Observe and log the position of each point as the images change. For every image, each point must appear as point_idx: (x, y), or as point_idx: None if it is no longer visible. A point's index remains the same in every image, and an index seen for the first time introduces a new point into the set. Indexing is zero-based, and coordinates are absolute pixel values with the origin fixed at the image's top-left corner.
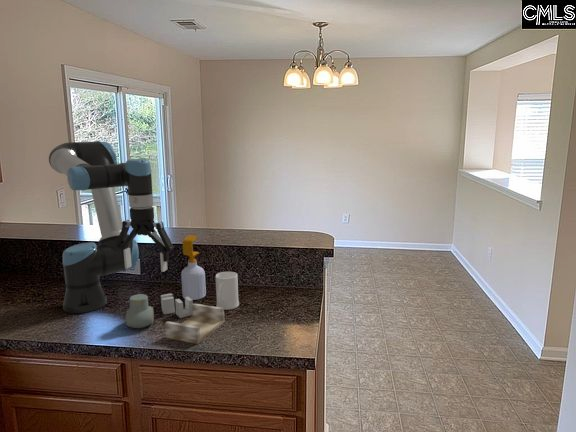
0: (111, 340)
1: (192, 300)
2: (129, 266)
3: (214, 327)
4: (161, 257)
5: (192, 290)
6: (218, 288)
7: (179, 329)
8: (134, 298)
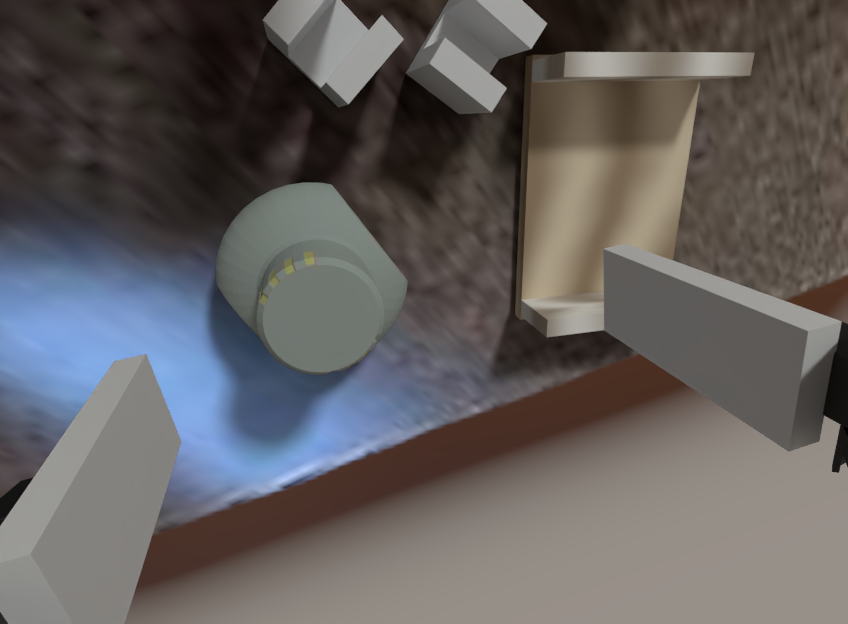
0: (315, 433)
1: (545, 25)
2: (161, 402)
3: (685, 166)
4: (742, 405)
5: None
6: None
7: None
8: (316, 349)
